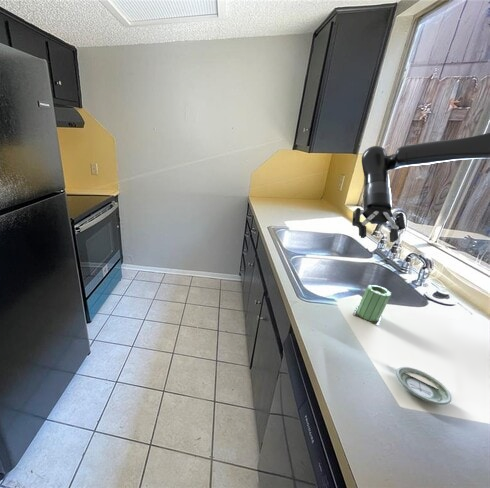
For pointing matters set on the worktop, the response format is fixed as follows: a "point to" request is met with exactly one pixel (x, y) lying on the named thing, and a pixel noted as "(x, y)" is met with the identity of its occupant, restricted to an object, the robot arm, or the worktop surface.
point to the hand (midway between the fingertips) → (378, 239)
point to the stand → (368, 320)
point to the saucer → (423, 386)
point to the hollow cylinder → (373, 303)
